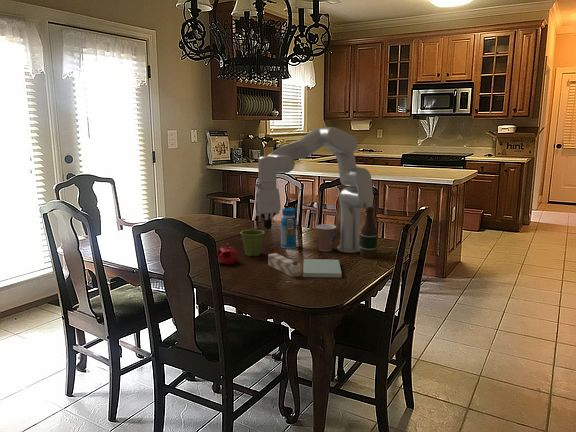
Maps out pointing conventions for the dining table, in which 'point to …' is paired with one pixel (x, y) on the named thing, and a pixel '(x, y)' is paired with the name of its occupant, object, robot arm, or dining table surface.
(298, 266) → the beige patterned long block
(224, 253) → the pomegranate
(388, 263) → the dining table surface
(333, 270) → the pale green flat slab
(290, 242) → the beverage bottle
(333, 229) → the coffee cup
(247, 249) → the plant pot
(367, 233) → the beer bottle
